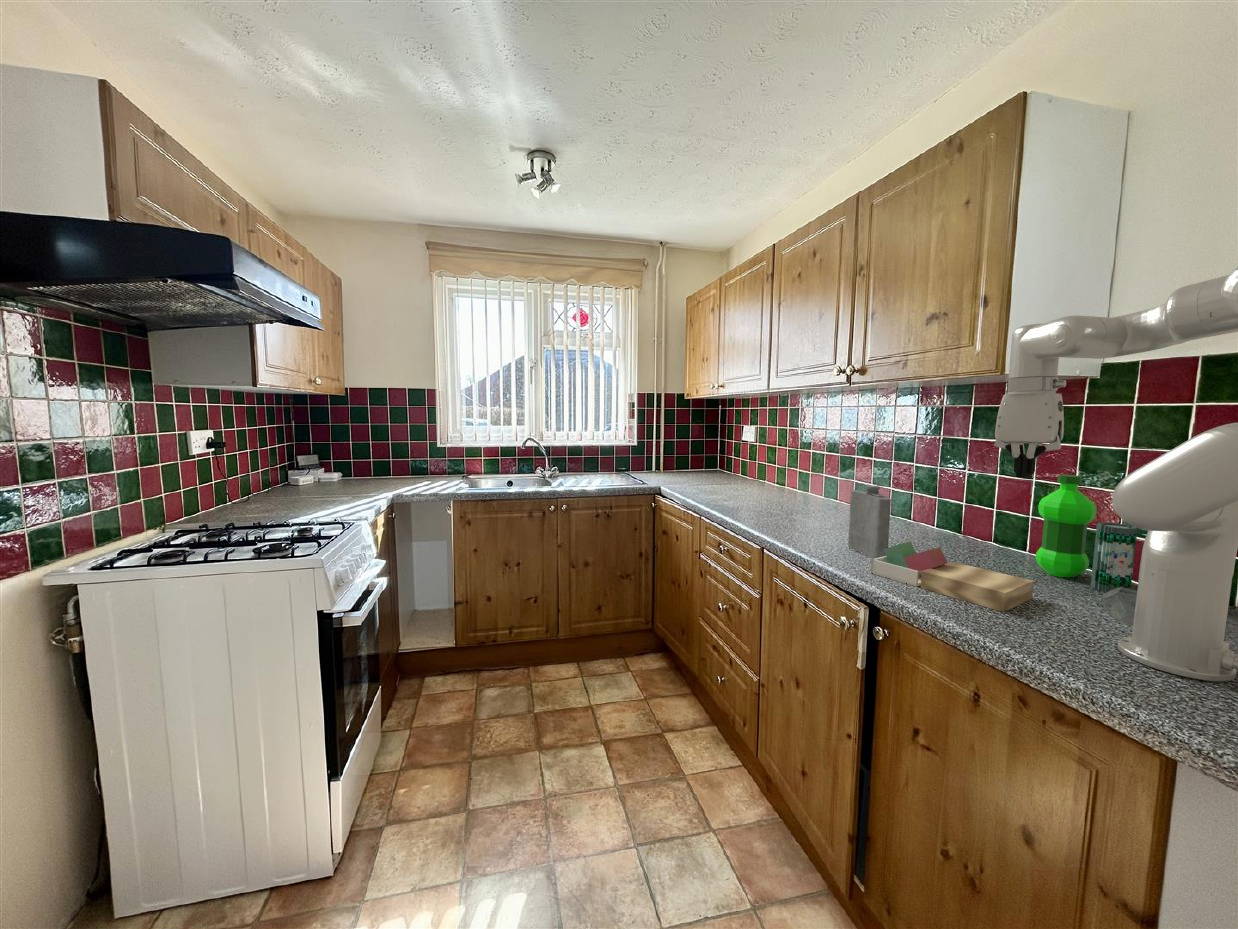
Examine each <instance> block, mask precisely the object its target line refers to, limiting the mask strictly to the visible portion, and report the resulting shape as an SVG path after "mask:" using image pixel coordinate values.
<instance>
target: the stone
mask: <svg viewBox="0 0 1238 929" xmlns="http://www.w3.org/2000/svg"><path fill="white" fill-rule="evenodd" d="M1136 598H1137V590H1134V589H1131V590H1130V589H1125V588H1123V587H1118V588H1116V589H1113V590H1110V591H1109V592H1107V593H1105V592H1104V593H1103V594H1102V595H1100V600H1101V602H1102V605H1103V607H1104V609H1105V611H1106V614H1109V615H1111V616H1112V617H1113V618H1115V619H1116V620H1118V622H1121V623H1124V624H1126V625H1131V626H1133V624H1134V615H1135V607H1136Z"/></svg>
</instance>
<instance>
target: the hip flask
mask: <svg viewBox="0 0 1238 929" xmlns="http://www.w3.org/2000/svg"><path fill="white" fill-rule="evenodd" d="M864 486H865V487H864V488H865V489H866V490H865V491H863V490H860V489H859V490H855V489H851V490H850V497H849V498H850V500H849V520H848V524H849V525H848V538H847V540H848V542H847V548H848V547H849V548H851V549H854V550H856V551H858V552H862V553H863V554H865V555H867V556H868V557H870V558H872V559H875V558H879V557H883V556H886V554H885V552H884V550H883V549H886V548H889V537H890V524H891V523H890V521H891V507H892V506H891V505H892V498H890V497H888V496H886V495H884V494H880V492H879V490H880V487H881V486H880V485H874V484H872V485H871V484H870V485H868V484H867V485H864ZM856 551H855V552H856ZM858 552H857V553H858ZM863 554H862V555H863ZM865 555H864V556H865ZM867 556H866V557H867ZM868 557H867V558H868ZM870 558H869V559H870ZM872 559H871V560H872Z"/></svg>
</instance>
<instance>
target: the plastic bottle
mask: <svg viewBox="0 0 1238 929" xmlns="http://www.w3.org/2000/svg"><path fill="white" fill-rule="evenodd" d="M1082 479H1083V476H1081V475H1076V474H1075V475H1074V474H1058V475H1057V480H1056V481H1057V483H1058V484H1059V489H1057V490H1055V491H1052V492H1051V493H1049V494H1047V495H1046V496H1044V497H1042V498H1041V499H1040V500H1039V503H1038V505H1037V507H1038V508H1037V509H1038V514H1039V515H1040V516H1041V517H1042V518H1043V526H1042V528H1043V529H1042V538H1041V540H1042V541H1041V546H1040V547H1039V548H1038V550H1037V551H1036V553H1035V561H1036V563H1037V565H1039V567H1040V568H1042V570H1044V571H1045V573H1046V572H1047V573H1046V574H1048V575H1050V576H1053V577H1057V578H1063V577H1073V578H1075V577H1076V576H1078V575H1081V574H1082V573H1085V571H1087V569H1088V568H1089V566H1090V559H1089V558H1088V557H1089V556H1088V555H1087V554H1086V543H1087V532H1088V524H1089V523H1091V522H1093V521H1094V520H1095V518H1096V516H1097V512H1098V511H1097V506H1096V504H1095V502H1093V501H1092V500H1091V499H1090V498H1089V497H1087V496H1086V495H1085V494H1084V493H1082V492H1080V491H1079V485H1082Z"/></svg>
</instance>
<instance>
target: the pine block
mask: <svg viewBox="0 0 1238 929" xmlns="http://www.w3.org/2000/svg"><path fill="white" fill-rule="evenodd" d="M1034 582H1035V581H1034V580H1032V579H1028V578H1023V577H1019V576H1015V575H1010V574H1005V573H1002V572H999V571H993V570H990V569H985V568H982V567H981V568H980V567H975V566H972V565H968V564H964V563H959V562H955V561H950V562H948V563H947V564H944V565H940V566H937V567H934V568H930V569H927V570H924V571H922V577H921V585H920V589H924V590H927V591H930V592H934V593H937V594H940V595H944V596H947V597H951V598H953V599H957V600H961V601H965V602H967V601H968V603H972V604H975V605H976V606H977V605H978V606H981V607H985V608H989V609H992V610H995V611H999V612H1002V613H1005V612H1008V611H1009V610H1011V609H1013V608H1015V607H1017V606H1019V605H1021V604H1023V603H1027V601H1030V600H1032V599H1033V593H1034V591H1033V590H1034V584H1035V583H1034Z"/></svg>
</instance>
